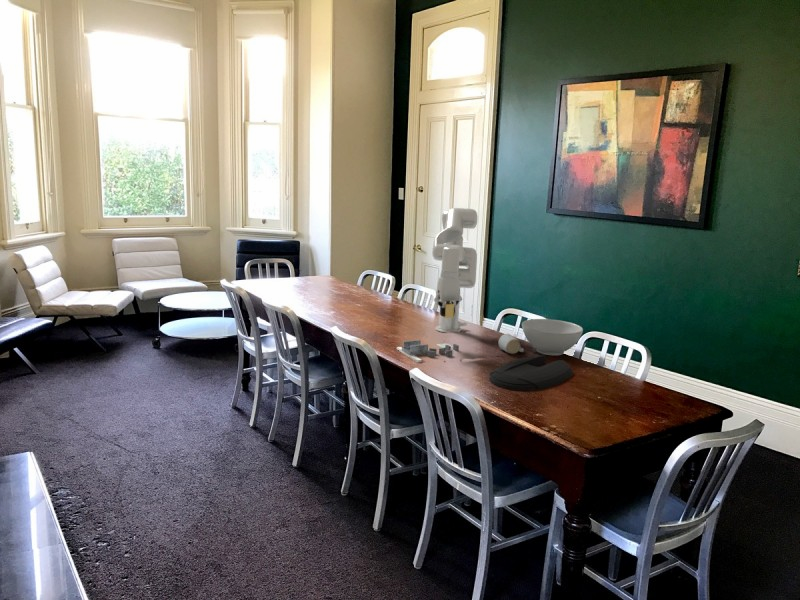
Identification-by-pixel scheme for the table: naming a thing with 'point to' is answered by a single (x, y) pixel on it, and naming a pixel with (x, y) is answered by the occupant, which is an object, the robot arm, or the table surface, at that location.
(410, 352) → the end holder
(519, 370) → the folded dark cloth
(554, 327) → the decorative bowl
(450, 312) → the connector
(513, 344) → the ceramic mug
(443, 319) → the robot arm
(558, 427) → the table surface
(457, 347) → the board
